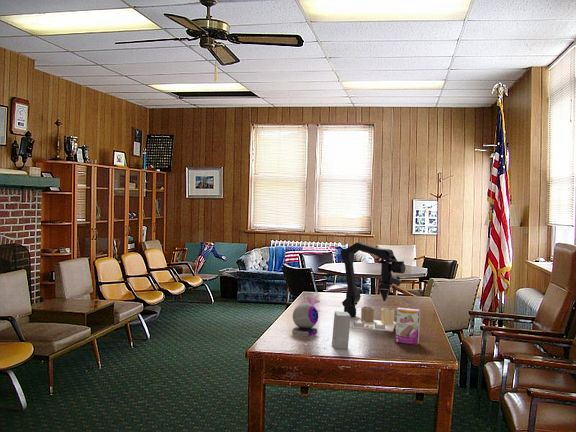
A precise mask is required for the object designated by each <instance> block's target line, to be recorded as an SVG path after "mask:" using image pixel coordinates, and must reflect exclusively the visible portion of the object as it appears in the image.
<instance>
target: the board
mask: <svg viewBox="0 0 576 432" xmlns="http://www.w3.org/2000/svg"><path fill="white" fill-rule="evenodd" d="M366 307H367V306H362V307H360V308H361V309H360V310H361V313H360V315H361V316H360V318H358V319H357V320H356V319H354V320H353V326H352V329H360V330H361V329H362V330H369V331H370V330H371V331H380V332H381V331H382V332H384V331H385V332H394V329H395V325H396V321H395V309H394V308H392V307H391V308H387V307H383V308H381V309H380V310H381V311H380V312H381V313H380V314H381V316H380V320H377V319H375V307H372V306H368V307H369V308H370V309H365V308H366ZM386 309H390V310H386Z"/></svg>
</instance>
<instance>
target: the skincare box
mask: <svg viewBox="0 0 576 432" xmlns="http://www.w3.org/2000/svg"><path fill="white" fill-rule="evenodd" d="M333 317H334V318H333V325H332V327H333V328H332V338H331V345H332V347H333V349H338V350H348V349H349V342H350V341H349V340H350V339H349V337H350V330H351V329H350V328H351V318H352V317H351V316H350V315H349V314H348V312H344V311H334V314H333Z"/></svg>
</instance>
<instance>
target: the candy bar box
mask: <svg viewBox="0 0 576 432" xmlns="http://www.w3.org/2000/svg"><path fill="white" fill-rule="evenodd" d="M395 322H396V325H395V327H394V329H395V331H394V343H396V344H397V343H398V344H406V345H414V346H417V345H419V342H420V325H421V324H420V323H421V309H415V308H408V307H407V308H406V307H397V308H396V309H395Z"/></svg>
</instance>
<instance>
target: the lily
mask: <svg viewBox="0 0 576 432" xmlns="http://www.w3.org/2000/svg"><path fill="white" fill-rule="evenodd" d="M317 298H318V295H316V296H314V297H312V296H310V295H309V294H306V295H305V301H301V302H300V304H303V303H308V304H311V305H313V306H314V307H315V305H316V304H319V303H321V300H318V299H317Z"/></svg>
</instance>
